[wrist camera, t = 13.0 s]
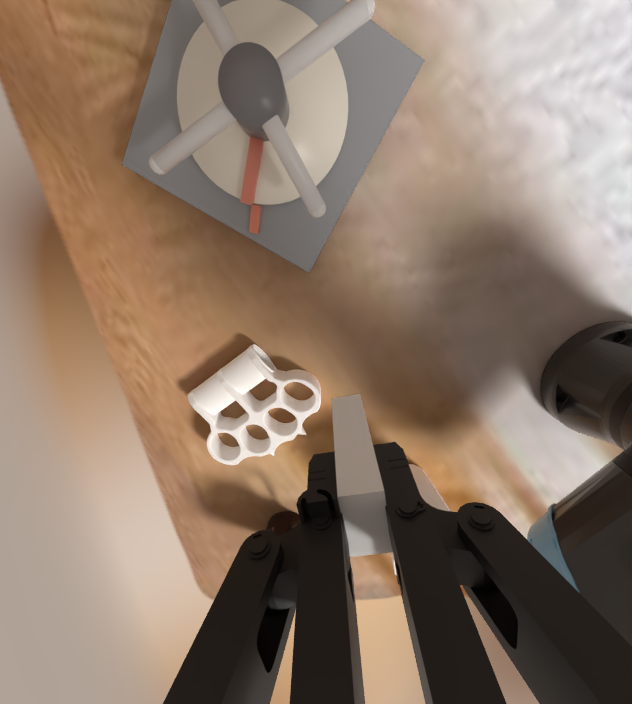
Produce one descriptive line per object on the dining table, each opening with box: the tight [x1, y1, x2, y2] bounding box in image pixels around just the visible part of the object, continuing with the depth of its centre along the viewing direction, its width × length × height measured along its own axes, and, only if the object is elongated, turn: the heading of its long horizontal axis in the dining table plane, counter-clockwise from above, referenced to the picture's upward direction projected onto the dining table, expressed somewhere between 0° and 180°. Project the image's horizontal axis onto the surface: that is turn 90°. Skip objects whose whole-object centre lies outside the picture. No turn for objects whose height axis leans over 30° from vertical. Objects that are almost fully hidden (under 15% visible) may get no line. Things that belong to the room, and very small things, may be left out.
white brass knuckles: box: [187, 344, 321, 465], centre depth 43 cm, size 3×18×15 cm
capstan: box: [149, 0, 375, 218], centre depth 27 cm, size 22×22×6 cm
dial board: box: [122, 0, 424, 273], centre depth 31 cm, size 22×22×2 cm
